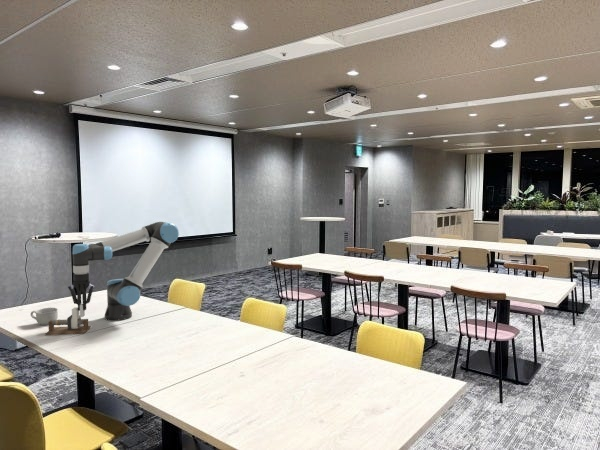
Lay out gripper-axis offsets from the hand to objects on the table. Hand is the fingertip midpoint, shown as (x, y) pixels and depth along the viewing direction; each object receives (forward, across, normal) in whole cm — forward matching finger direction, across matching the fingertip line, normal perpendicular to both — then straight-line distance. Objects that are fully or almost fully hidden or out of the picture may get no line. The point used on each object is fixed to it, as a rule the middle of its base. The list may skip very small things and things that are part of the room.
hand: (82, 316), depth 231 cm
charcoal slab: (+6, +6, 0) cm, 8 cm away
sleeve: (+6, +3, 0) cm, 7 cm away
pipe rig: (+8, +7, 0) cm, 11 cm away
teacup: (+8, +26, -16) cm, 32 cm away
